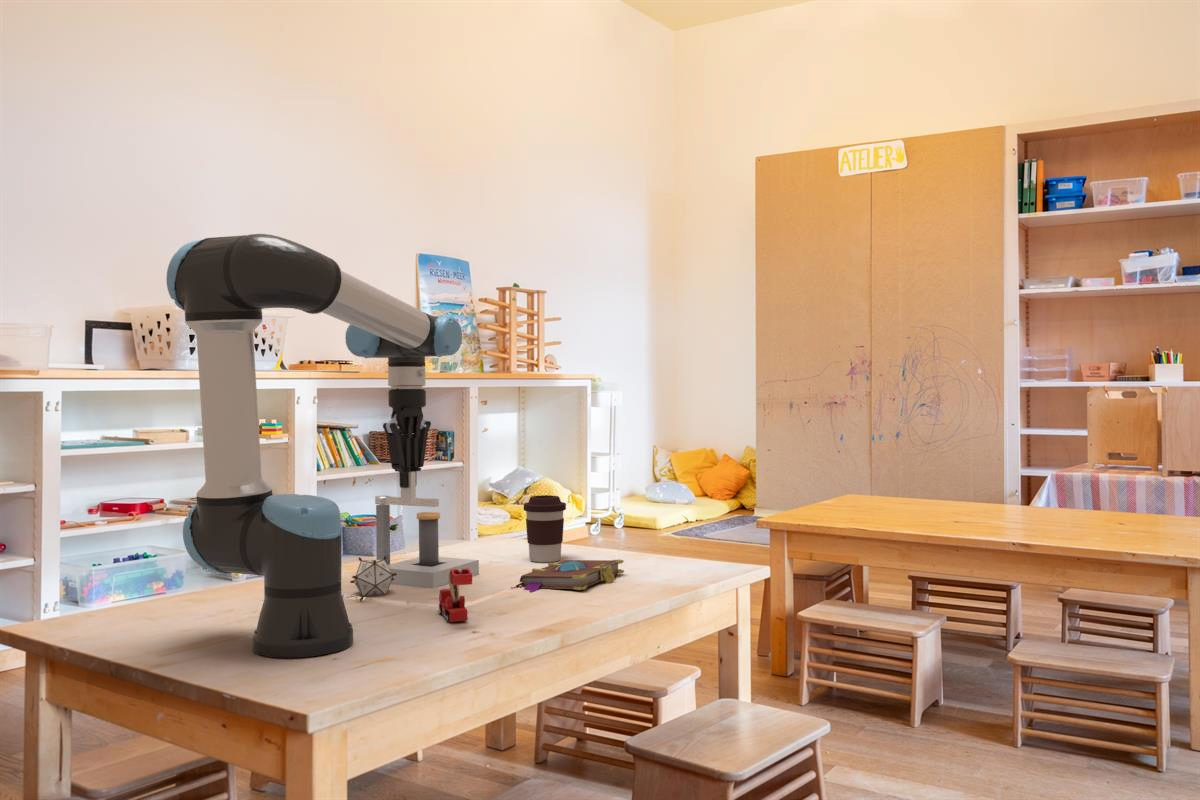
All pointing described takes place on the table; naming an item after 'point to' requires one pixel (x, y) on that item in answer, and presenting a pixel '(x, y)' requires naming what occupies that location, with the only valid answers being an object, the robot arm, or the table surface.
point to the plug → (428, 538)
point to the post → (383, 532)
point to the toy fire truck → (454, 596)
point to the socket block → (429, 571)
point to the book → (571, 574)
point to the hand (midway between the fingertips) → (408, 503)
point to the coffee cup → (544, 527)
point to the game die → (373, 577)
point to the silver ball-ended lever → (397, 501)
